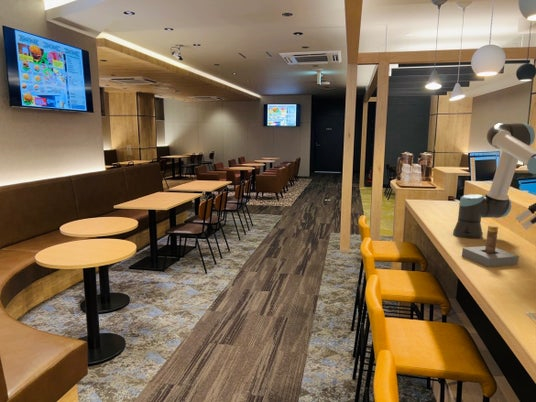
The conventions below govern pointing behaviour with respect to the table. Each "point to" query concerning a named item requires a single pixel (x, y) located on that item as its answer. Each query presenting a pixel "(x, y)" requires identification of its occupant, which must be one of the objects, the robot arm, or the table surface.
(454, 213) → the table surface
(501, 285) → the table surface
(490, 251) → the yellow capped peg
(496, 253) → the socket plate
